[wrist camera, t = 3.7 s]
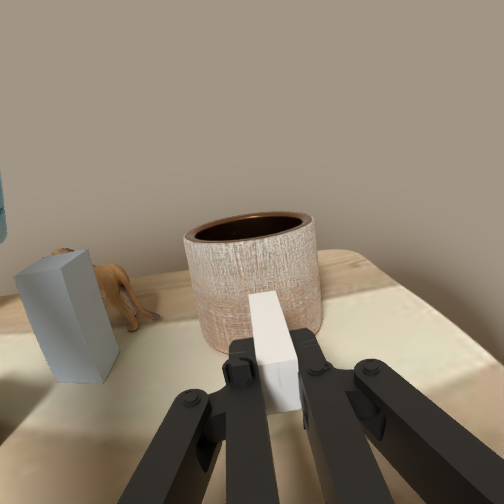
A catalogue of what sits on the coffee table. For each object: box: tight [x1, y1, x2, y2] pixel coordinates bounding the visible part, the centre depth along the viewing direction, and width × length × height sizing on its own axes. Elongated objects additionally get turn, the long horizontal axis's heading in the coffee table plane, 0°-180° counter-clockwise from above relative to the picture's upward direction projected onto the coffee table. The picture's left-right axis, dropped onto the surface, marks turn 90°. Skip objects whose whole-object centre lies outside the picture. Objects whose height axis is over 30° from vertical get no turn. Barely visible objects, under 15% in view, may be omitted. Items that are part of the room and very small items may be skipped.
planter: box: [183, 211, 322, 354], centre depth 27 cm, size 11×11×10 cm
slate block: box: [14, 249, 120, 383], centre depth 23 cm, size 5×5×10 cm
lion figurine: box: [52, 248, 160, 331], centre depth 32 cm, size 15×5×9 cm, turn 77°
